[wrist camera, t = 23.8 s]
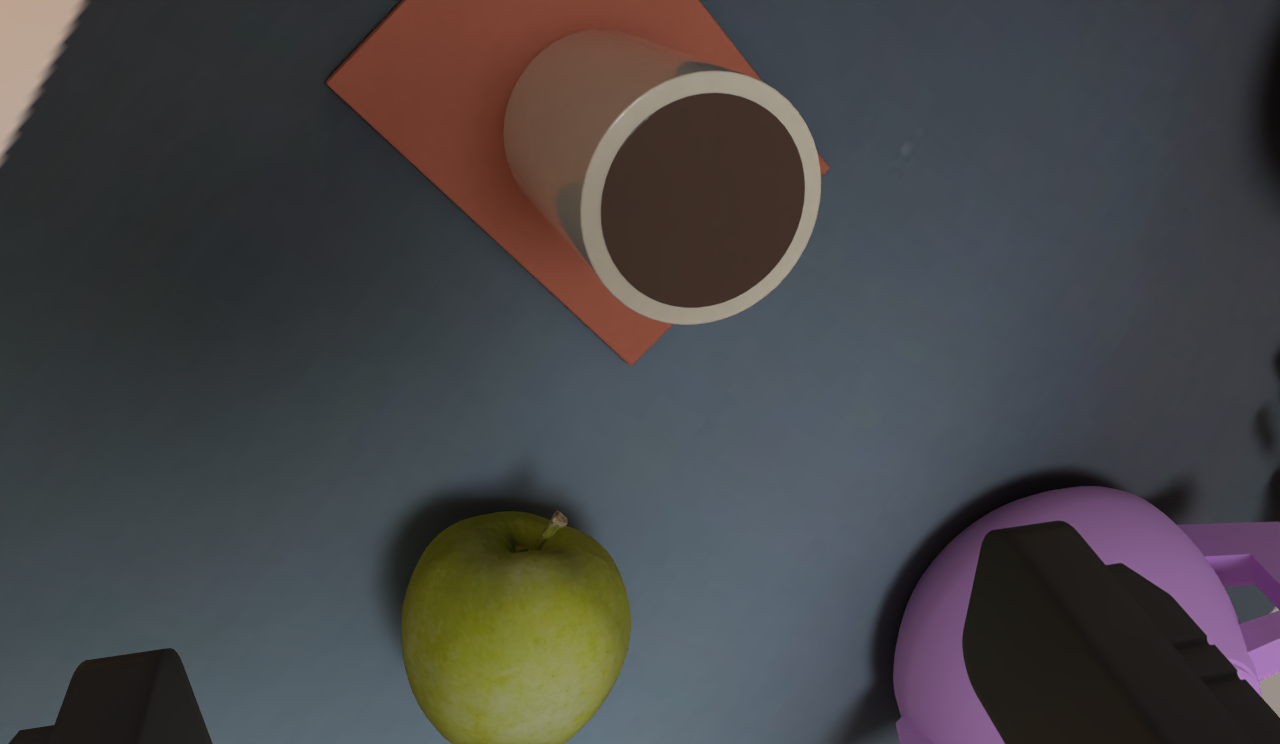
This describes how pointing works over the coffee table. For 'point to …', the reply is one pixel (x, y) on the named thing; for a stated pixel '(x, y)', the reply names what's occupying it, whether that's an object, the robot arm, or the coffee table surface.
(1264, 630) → the teapot
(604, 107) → the cup
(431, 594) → the apple
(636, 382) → the coffee table surface
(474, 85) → the placemat
